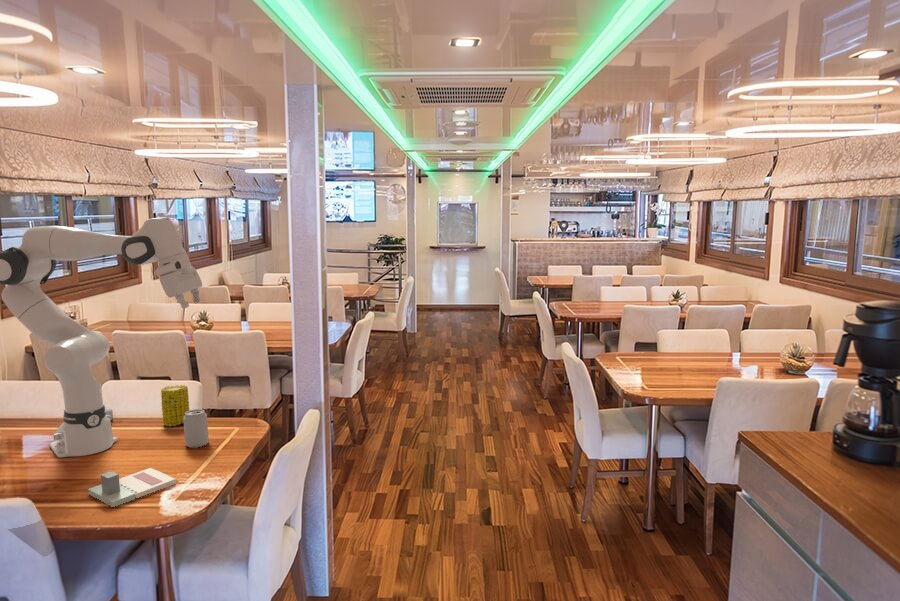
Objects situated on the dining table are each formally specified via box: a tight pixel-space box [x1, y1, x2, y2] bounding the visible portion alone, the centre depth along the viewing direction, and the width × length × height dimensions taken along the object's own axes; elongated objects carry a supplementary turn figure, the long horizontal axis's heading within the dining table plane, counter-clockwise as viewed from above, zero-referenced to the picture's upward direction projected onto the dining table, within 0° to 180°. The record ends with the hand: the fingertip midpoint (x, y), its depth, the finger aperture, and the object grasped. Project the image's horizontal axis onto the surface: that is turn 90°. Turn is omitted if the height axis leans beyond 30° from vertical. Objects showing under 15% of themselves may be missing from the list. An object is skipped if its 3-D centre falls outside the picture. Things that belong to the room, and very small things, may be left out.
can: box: [183, 408, 209, 449], centre depth 207 cm, size 8×8×12 cm
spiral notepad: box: [119, 467, 177, 499], centre depth 177 cm, size 14×12×2 cm
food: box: [160, 384, 190, 428], centre depth 230 cm, size 15×12×10 cm
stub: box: [88, 470, 136, 508], centre depth 170 cm, size 14×6×7 cm, turn 54°
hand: (192, 305), depth 198 cm, fingers open, 8 cm apart
